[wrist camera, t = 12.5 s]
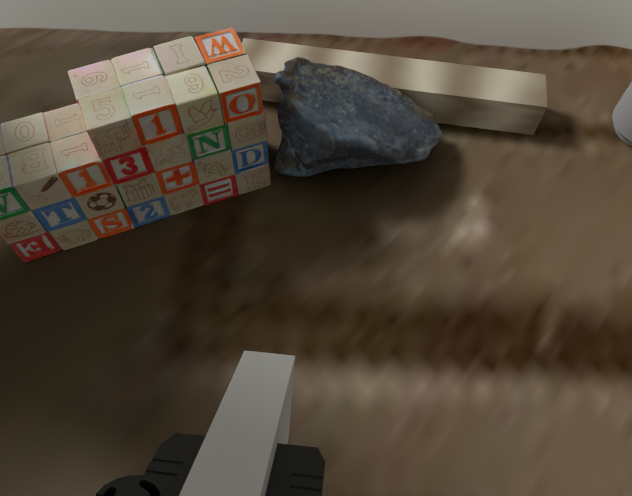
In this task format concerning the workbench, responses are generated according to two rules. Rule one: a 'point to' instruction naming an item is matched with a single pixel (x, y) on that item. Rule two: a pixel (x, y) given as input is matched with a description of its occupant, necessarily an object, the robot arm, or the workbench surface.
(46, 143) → the stack of blocks
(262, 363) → the robot arm
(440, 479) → the workbench surface
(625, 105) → the energy drink can
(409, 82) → the plank
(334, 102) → the rock
